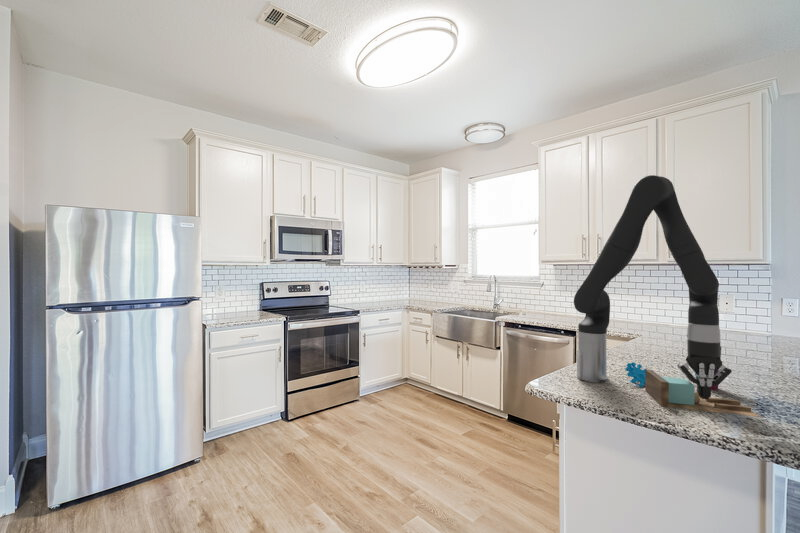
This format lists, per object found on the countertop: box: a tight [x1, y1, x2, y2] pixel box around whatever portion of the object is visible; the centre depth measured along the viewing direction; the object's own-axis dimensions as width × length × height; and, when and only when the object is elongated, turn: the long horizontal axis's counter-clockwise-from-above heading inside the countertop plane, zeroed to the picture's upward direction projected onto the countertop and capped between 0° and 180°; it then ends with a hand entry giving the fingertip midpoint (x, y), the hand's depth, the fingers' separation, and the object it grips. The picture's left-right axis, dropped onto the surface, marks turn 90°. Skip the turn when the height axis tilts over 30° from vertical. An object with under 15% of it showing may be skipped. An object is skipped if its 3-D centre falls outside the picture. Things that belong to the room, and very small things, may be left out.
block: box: [661, 376, 695, 405], centre depth 110 cm, size 7×7×6 cm
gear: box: [625, 361, 648, 388], centre depth 128 cm, size 11×6×10 cm
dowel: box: [694, 391, 700, 403], centre depth 109 cm, size 8×3×3 cm, turn 71°
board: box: [644, 369, 762, 418], centre depth 108 cm, size 23×14×8 cm, turn 72°
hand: (704, 398), depth 108 cm, fingers closed
